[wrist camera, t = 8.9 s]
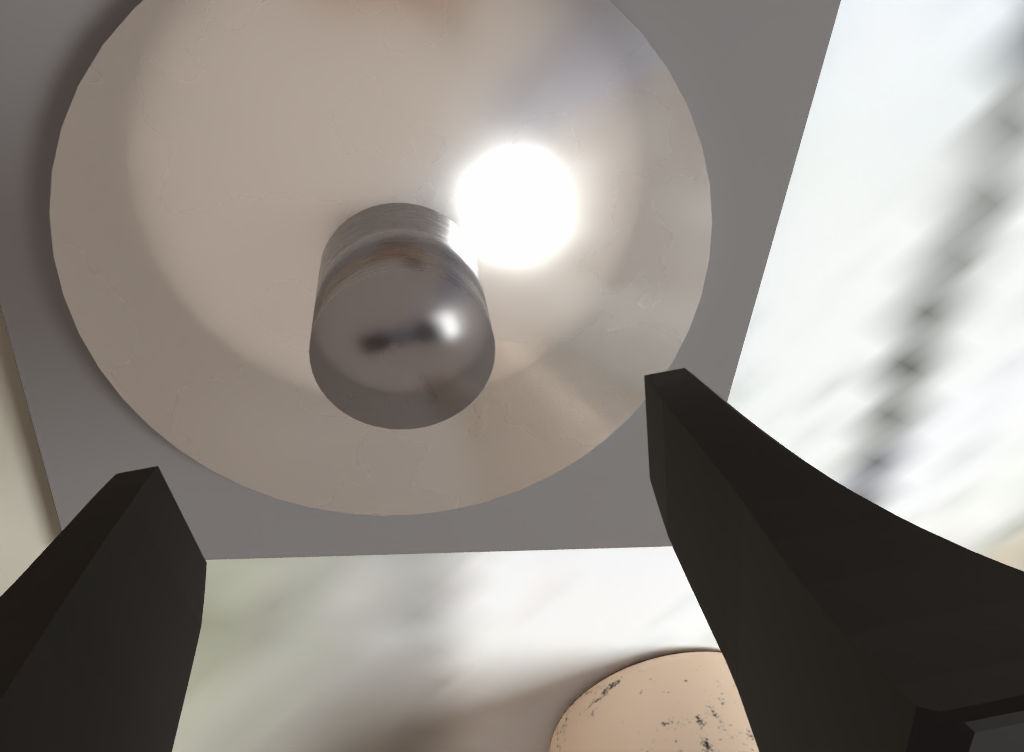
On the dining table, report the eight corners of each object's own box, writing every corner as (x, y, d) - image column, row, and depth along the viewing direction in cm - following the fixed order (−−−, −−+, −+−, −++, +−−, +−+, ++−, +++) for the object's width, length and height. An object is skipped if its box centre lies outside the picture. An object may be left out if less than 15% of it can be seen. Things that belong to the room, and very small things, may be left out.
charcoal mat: (858, -120, 15) (874, -118, 15) (679, 530, 24) (686, 545, 23) (-125, -227, 13) (-146, -229, 12) (77, 546, 21) (70, 563, 21)
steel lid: (704, -148, 14) (791, -139, 11) (701, 447, 21) (754, 548, 18) (-77, -24, 14) (-206, 20, 11) (194, 541, 21) (164, 661, 18)
